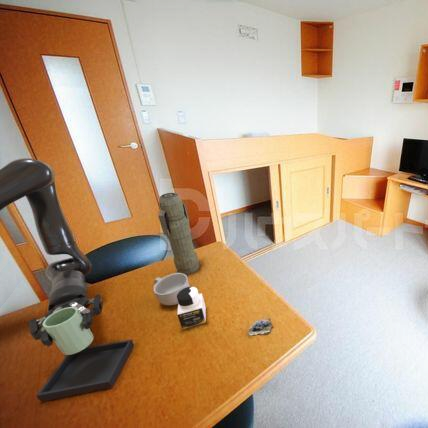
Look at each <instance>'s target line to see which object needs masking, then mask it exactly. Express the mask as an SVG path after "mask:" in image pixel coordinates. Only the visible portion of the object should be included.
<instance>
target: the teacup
mask: <svg viewBox="0 0 428 428" xmlns="http://www.w3.org/2000/svg"><path fill="white" fill-rule="evenodd" d="M153 282H154V286H153V293H154V294H155V296H156V298H157V299H158V302H159V303H161V304H162V305H165V306H175V305H178V304H179V303H178V300H177V294H178V293H179V291H180V290H182V289H184V288H186V287H191V286H190V282H189V278H188V275H185V274H183V273H178V272H173V273H170V274H167V275H165V276H164V277H159V276H158V277H155V278H154V280H153Z"/></svg>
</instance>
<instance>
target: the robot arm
mask: <svg viewBox="0 0 428 428" xmlns="http://www.w3.org/2000/svg"><path fill="white" fill-rule="evenodd" d="M24 197H25V198H26V200H27V202H28V205H29V206H30V209H31V213H32V216H33V219H34V225H35V229H36V232H37V235H38V237H39V240H40V243H41V245H42V247H43V250H44V252H45V254H47V255H48V256H60V255H68V256H70V257H68V258H64V259H61V260H56V261H53V262H51V263H50V264H48V265H47V266H46V268H45V276H46V277H47V279H48V281H50V282H51V284H52V285H51V290H50V292H49V298H48V305H47V313H46V314H45V315H44V316H43V317H41V318H39V319H37V318H36V317H34V318H30V319H29V321H28V327H29V334H30V336H31V337H32V338H33V339H34V340H35V341H39V340H40V342H41V344H42V345H43V346H47V347H49V346H52V345H53V342H54V341H53V339H52V338H51V336H50V335H49V333H48V332H47V331H46V329H45V328H44V326H43V325H42V324H43V322H44V320H45V319H46V318H47V317H48V316H50V315H51V314H53V313H54V312H56V311H58V310H61V309H64V308H67V307H76V308H77V309H78V310H79V312H80V314H81V315H82V317H83V325H84V327H85V329H86V330H87V329H90V328H91V326H93V324H94V319H93V318H94V316H99V315H101V314H102V312H103V307H104V305H103V304H104V299H103V298H102V296H101V294H99V293H97V294H95V295H94V296H93V297H92V298H88V292H89V291H88V287H87V285H86V277H85V276H87V275H88V274H90V273H91V272H92V270H93V263H92V261H91V260H90V259H89V257H87V256H86V254H84V252H83V251H82V250H81V249H80V247H79V246H78V244H77V242H76V240H75V237H74V235H73V232H72V230H71V227H70V225H69V222H68V220H67V218H66V216H65V214H64V211H63V209H62V206H61V204H60V200H59V197H58V193H57V188H56V173H55V171H54V169H53V168H52V167H51V166H50V165H49V164H48V163H46V162H44V161H41V160H39V159H35V158H27V157H24V158H17V159H14V160H11V161H9V162H8V163H7V164H6V165H4V166H3V167H1V168H0V212H1V211H2V210H3V209H5V208H6V207H8V206H9V205H11V204H13V203H15V202H16V201H18V200H21V199H22V198H24ZM91 305H92V307H91V309H89V307H90V306H91Z"/></svg>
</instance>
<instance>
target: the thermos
mask: <svg viewBox="0 0 428 428" xmlns="http://www.w3.org/2000/svg"><path fill="white" fill-rule="evenodd" d="M158 206H159V209H160V210H158V215H157V216H158V220H159V223H160V226H161V229H162V233H163V235H164V236H166V238H167V240H168V241H169V245H170V248H171V251H172V255H173V263H174V266H175V269H176V270H177V272H176V273H183V274H185V275H186V276H189V275H192V274H195V273H196V272H198V271H199V269H200V263H199V256H198V253H197V251H196V250H195V248H194V242H193V239H192V235H191V234H192V230H191V226H190V218H189V213H188V210H187V206H186V203H185V202H184V201H182V199H181V197H180V196H179V194H178V193H175V192H166V193H163V194H162V195H160V196H159V199H158Z"/></svg>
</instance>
